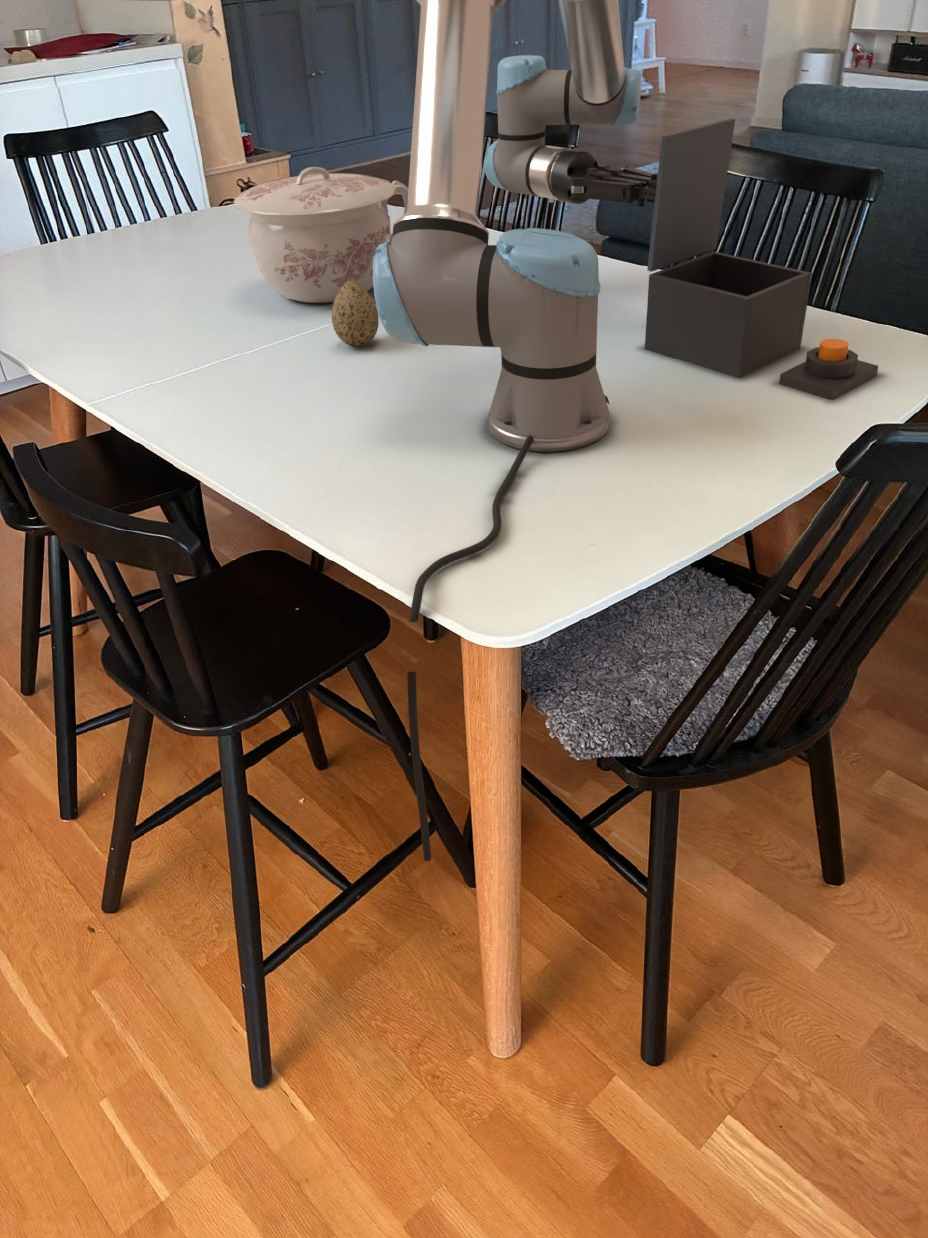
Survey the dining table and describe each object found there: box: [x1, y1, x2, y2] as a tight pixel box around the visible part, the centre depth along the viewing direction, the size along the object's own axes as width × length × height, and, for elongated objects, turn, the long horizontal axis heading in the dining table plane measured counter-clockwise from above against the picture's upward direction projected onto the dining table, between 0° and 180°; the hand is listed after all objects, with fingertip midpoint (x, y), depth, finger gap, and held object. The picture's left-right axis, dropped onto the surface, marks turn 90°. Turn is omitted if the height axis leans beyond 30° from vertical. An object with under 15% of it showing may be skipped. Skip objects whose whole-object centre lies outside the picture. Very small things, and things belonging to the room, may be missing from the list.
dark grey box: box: [644, 251, 813, 379], centre depth 140 cm, size 17×15×11 cm
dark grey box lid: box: [646, 117, 736, 273], centre depth 136 cm, size 18×15×1 cm
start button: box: [818, 338, 850, 361], centre depth 130 cm, size 4×4×2 cm
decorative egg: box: [331, 281, 380, 348], centre depth 149 cm, size 7×7×10 cm
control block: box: [778, 346, 879, 401], centre depth 131 cm, size 8×11×4 cm
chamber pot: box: [233, 166, 409, 304], centre depth 168 cm, size 28×28×21 cm
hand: (686, 196), depth 137 cm, fingers closed
